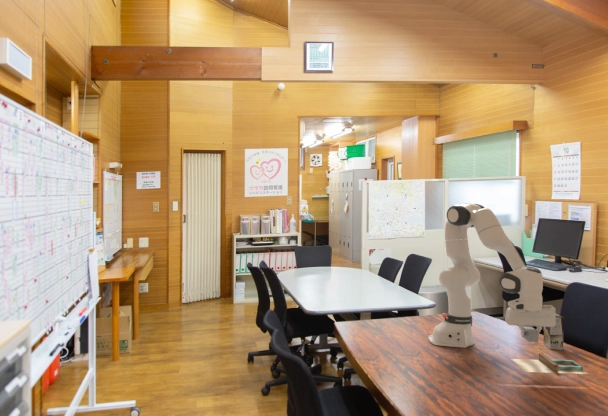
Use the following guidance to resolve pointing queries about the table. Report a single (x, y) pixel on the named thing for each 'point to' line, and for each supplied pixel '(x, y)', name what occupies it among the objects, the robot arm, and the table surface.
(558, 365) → the lock board
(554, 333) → the coffee box
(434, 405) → the table surface
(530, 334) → the block
